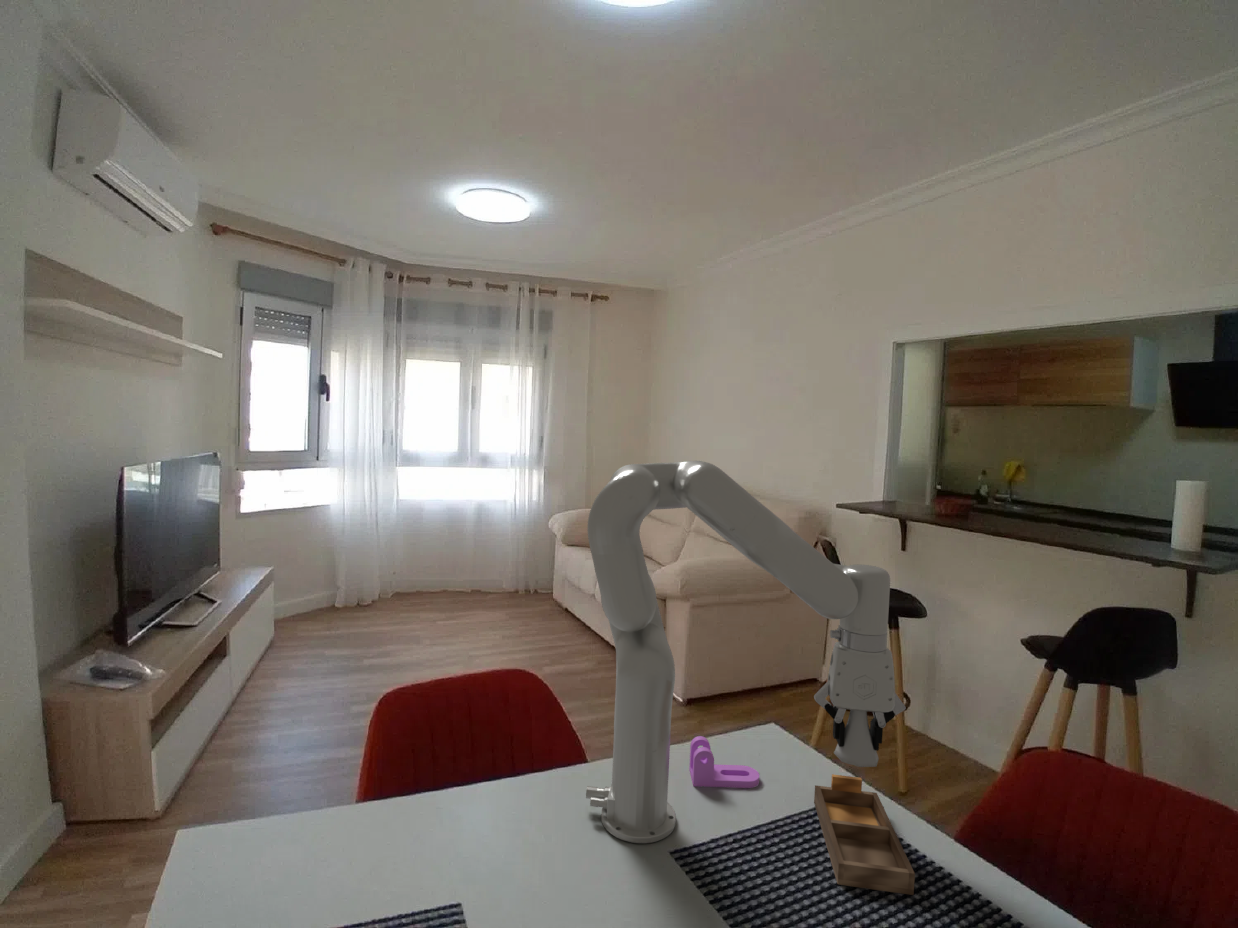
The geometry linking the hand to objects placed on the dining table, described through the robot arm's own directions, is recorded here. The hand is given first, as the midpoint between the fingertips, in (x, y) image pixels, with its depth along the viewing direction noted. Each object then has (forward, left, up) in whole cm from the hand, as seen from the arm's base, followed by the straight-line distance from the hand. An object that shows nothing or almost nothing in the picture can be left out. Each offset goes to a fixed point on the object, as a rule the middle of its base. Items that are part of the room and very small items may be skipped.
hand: (856, 743), depth 103 cm
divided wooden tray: (0, -5, -14) cm, 15 cm away
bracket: (-21, +10, -15) cm, 27 cm away
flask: (0, 0, -3) cm, 3 cm away
